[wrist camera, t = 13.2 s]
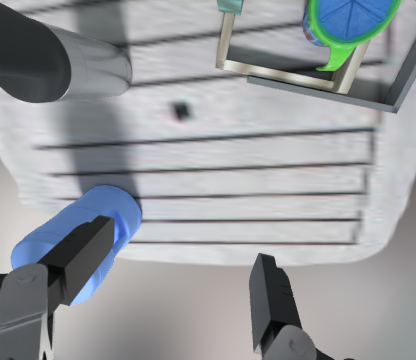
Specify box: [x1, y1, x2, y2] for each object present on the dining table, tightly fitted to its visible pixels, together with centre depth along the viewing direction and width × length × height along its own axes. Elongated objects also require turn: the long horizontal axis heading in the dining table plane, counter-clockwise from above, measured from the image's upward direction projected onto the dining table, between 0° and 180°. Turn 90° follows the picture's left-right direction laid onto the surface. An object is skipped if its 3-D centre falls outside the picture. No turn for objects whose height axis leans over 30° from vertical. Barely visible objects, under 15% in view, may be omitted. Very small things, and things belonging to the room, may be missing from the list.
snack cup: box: [303, 0, 401, 71], centre depth 31 cm, size 16×10×10 cm
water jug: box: [11, 185, 142, 305], centre depth 44 cm, size 16×16×28 cm
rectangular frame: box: [247, 41, 416, 114], centre depth 34 cm, size 26×22×3 cm
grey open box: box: [215, 0, 371, 94], centre depth 29 cm, size 23×20×14 cm
